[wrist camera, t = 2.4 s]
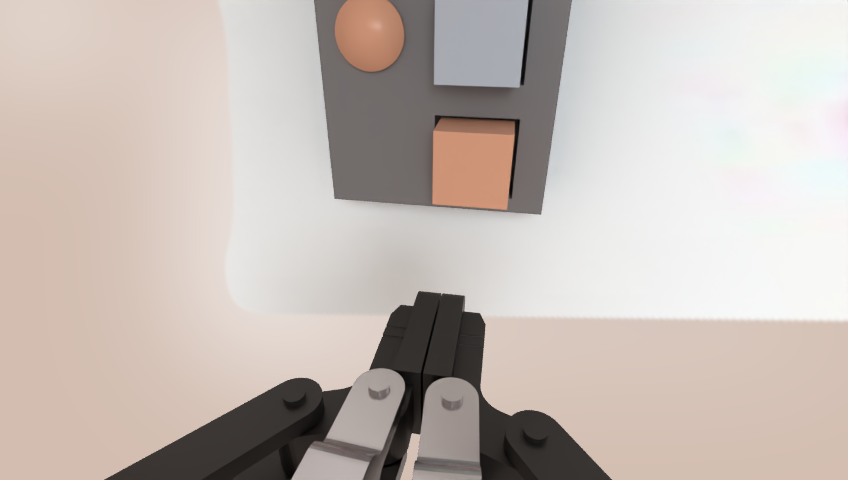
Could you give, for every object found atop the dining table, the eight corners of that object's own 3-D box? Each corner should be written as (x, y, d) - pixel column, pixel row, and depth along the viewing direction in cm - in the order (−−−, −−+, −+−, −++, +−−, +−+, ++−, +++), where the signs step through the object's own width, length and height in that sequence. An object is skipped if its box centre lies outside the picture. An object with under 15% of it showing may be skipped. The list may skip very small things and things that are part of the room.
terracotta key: (441, 117, 28) (433, 131, 25) (514, 120, 27) (514, 135, 24) (439, 184, 30) (432, 204, 27) (507, 189, 29) (507, 209, 27)
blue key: (444, -12, 24) (435, -12, 22) (527, -12, 24) (529, -12, 21) (442, 75, 27) (433, 84, 24) (518, 77, 26) (519, 87, 23)
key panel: (320, -188, 24) (288, -219, 21) (592, -205, 22) (607, -242, 18) (351, 179, 34) (332, 201, 31) (538, 192, 32) (541, 217, 29)
